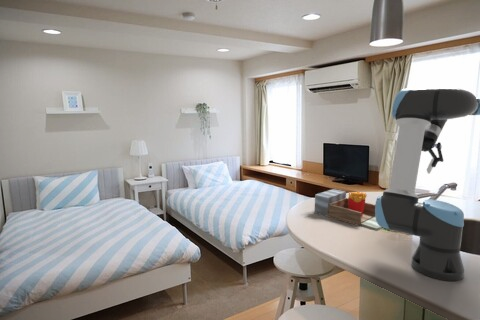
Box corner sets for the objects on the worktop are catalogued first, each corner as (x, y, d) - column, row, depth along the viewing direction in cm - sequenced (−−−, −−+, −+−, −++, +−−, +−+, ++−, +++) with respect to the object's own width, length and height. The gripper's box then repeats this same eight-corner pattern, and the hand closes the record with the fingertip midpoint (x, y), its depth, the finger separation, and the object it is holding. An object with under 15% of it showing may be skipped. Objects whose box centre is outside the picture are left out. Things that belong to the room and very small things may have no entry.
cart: (376, 230, 139) (378, 209, 137) (314, 212, 163) (315, 194, 162) (392, 221, 150) (394, 202, 149) (332, 205, 175) (333, 189, 173)
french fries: (347, 215, 154) (349, 192, 152) (346, 213, 158) (348, 190, 156) (365, 217, 152) (367, 193, 150) (364, 214, 156) (365, 191, 154)
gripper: (460, 142, 140) (444, 179, 133) (404, 139, 159) (388, 170, 153) (457, 131, 136) (440, 168, 129) (400, 129, 155) (383, 160, 149)
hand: (412, 169), depth 141 cm, fingers open, 13 cm apart
